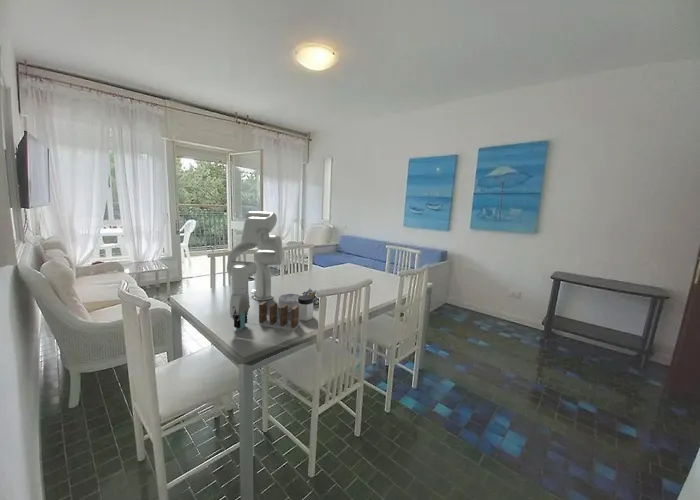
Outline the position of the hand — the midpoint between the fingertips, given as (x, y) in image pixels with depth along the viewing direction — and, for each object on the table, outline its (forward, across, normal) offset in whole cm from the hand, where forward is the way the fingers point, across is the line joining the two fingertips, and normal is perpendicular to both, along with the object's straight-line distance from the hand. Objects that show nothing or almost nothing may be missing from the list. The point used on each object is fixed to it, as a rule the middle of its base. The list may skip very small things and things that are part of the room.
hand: (240, 324), depth 143 cm
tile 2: (+2, -11, +6) cm, 13 cm away
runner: (+2, -11, +12) cm, 16 cm away
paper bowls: (+2, -32, +13) cm, 35 cm away
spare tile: (+2, 0, 0) cm, 2 cm away
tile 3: (+2, -11, +12) cm, 16 cm away
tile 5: (+2, -11, +24) cm, 26 cm away
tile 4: (+2, -11, +18) cm, 21 cm away
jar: (+2, -23, +25) cm, 34 cm away
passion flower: (+2, -45, +20) cm, 49 cm away
